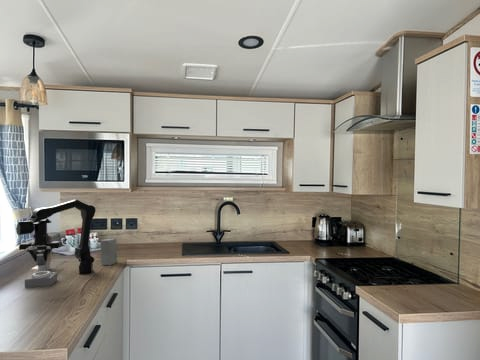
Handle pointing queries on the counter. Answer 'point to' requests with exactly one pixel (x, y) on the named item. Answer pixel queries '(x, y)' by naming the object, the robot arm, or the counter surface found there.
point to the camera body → (41, 279)
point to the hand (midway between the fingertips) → (41, 261)
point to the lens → (40, 258)
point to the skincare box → (108, 251)
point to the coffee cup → (47, 266)
